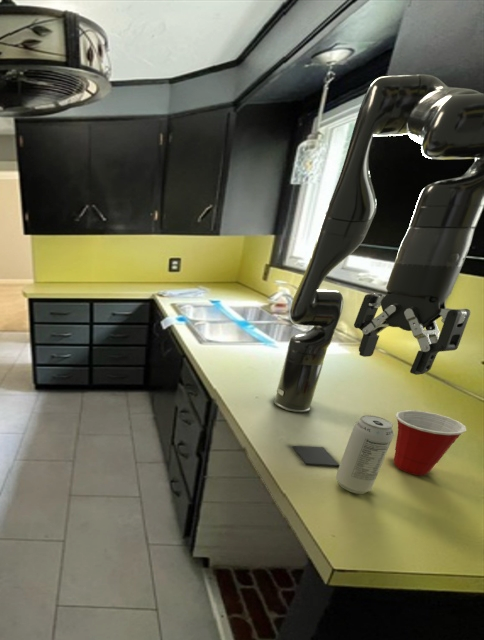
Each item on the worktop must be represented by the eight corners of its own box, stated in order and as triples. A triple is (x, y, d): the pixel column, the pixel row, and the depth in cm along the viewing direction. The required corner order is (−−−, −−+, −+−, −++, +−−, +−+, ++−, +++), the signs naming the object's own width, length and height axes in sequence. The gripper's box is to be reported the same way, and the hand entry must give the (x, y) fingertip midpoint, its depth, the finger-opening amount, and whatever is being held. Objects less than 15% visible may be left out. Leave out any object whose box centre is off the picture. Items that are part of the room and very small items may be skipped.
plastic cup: (387, 447, 87) (405, 402, 82) (447, 470, 79) (472, 422, 74) (370, 463, 81) (389, 416, 76) (434, 490, 73) (459, 439, 68)
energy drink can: (359, 477, 76) (384, 415, 70) (376, 497, 71) (405, 430, 65) (329, 474, 77) (350, 412, 71) (343, 494, 71) (368, 428, 65)
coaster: (292, 447, 86) (292, 445, 86) (322, 448, 86) (323, 447, 86) (306, 464, 80) (306, 463, 80) (339, 466, 80) (339, 465, 79)
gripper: (508, 265, 48) (455, 378, 54) (398, 256, 60) (367, 349, 67) (466, 266, 46) (417, 383, 53) (362, 257, 59) (333, 352, 65)
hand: (389, 364), depth 60 cm, fingers open, 8 cm apart
